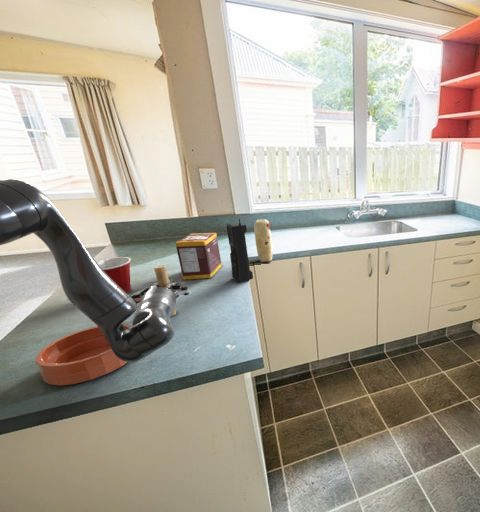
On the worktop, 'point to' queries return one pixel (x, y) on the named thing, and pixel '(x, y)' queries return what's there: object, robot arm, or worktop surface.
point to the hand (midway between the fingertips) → (165, 283)
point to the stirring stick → (162, 279)
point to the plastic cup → (118, 271)
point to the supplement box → (199, 255)
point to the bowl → (77, 358)
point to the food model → (263, 240)
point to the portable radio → (239, 252)
